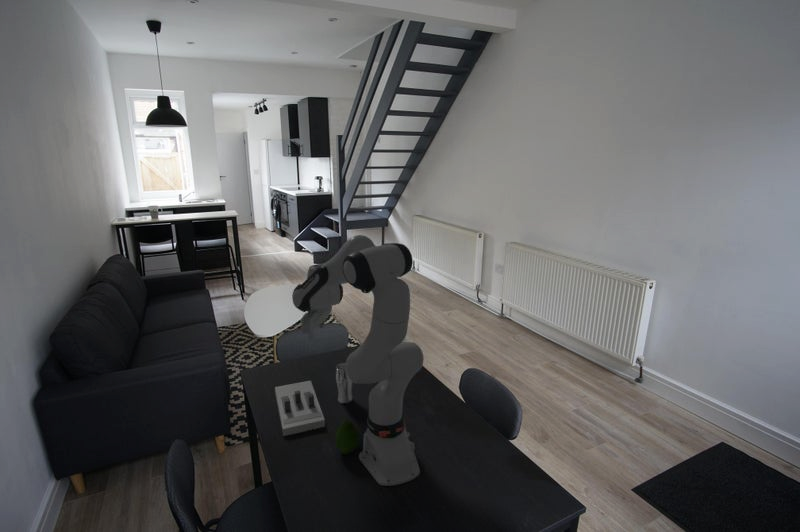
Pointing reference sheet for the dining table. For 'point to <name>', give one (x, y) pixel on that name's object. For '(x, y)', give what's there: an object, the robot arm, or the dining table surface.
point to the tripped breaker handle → (297, 396)
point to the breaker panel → (298, 408)
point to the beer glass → (343, 384)
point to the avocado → (347, 437)
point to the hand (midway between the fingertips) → (316, 332)
